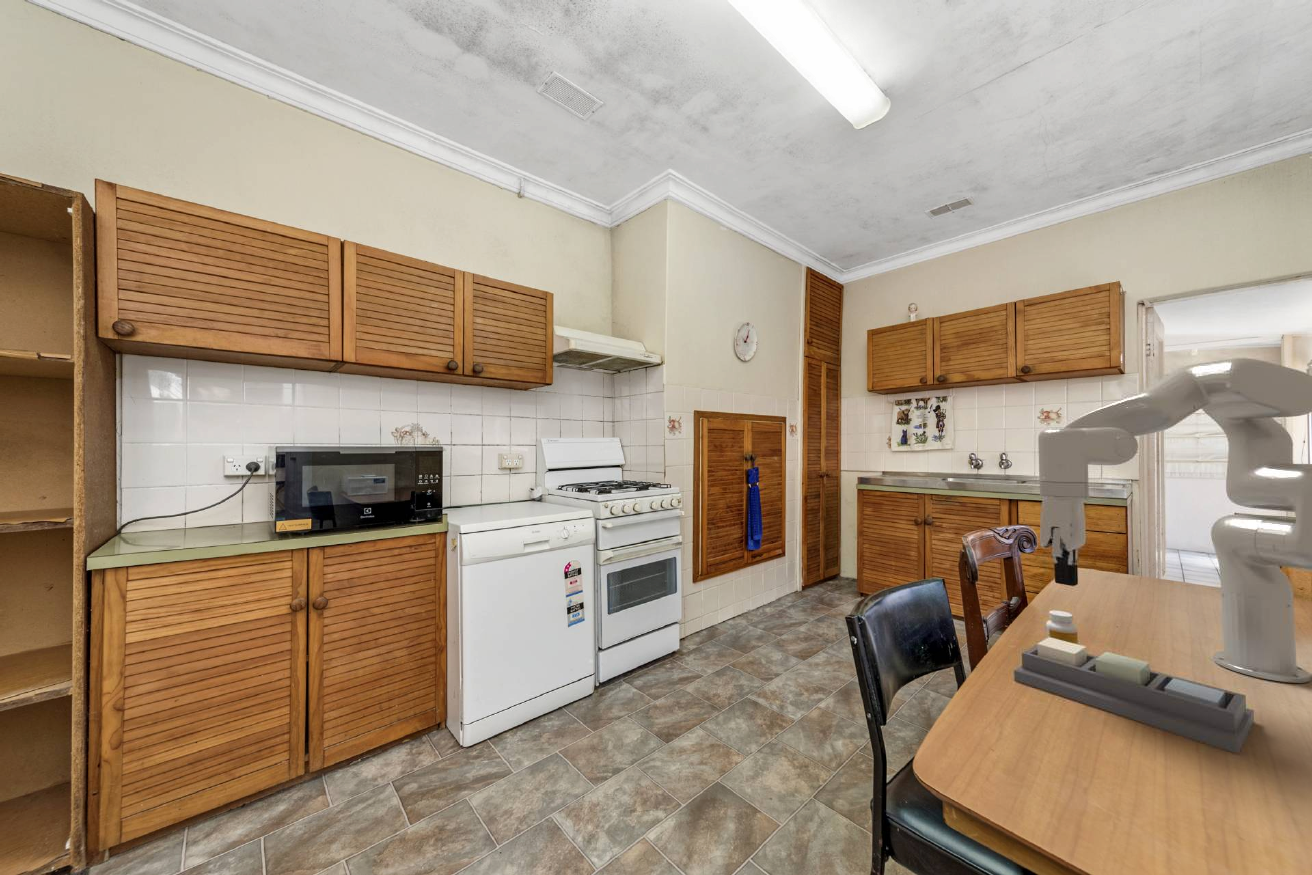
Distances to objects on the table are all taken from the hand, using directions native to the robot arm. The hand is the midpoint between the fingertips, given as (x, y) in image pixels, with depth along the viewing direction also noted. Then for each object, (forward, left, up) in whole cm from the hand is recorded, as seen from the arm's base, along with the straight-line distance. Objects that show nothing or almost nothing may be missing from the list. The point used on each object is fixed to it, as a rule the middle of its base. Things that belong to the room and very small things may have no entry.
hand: (1066, 583), depth 97 cm
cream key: (0, -1, -15) cm, 15 cm away
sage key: (0, +8, -15) cm, 17 cm away
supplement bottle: (-13, -5, -20) cm, 24 cm away
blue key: (0, +17, -17) cm, 24 cm away
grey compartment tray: (0, +8, -19) cm, 21 cm away
